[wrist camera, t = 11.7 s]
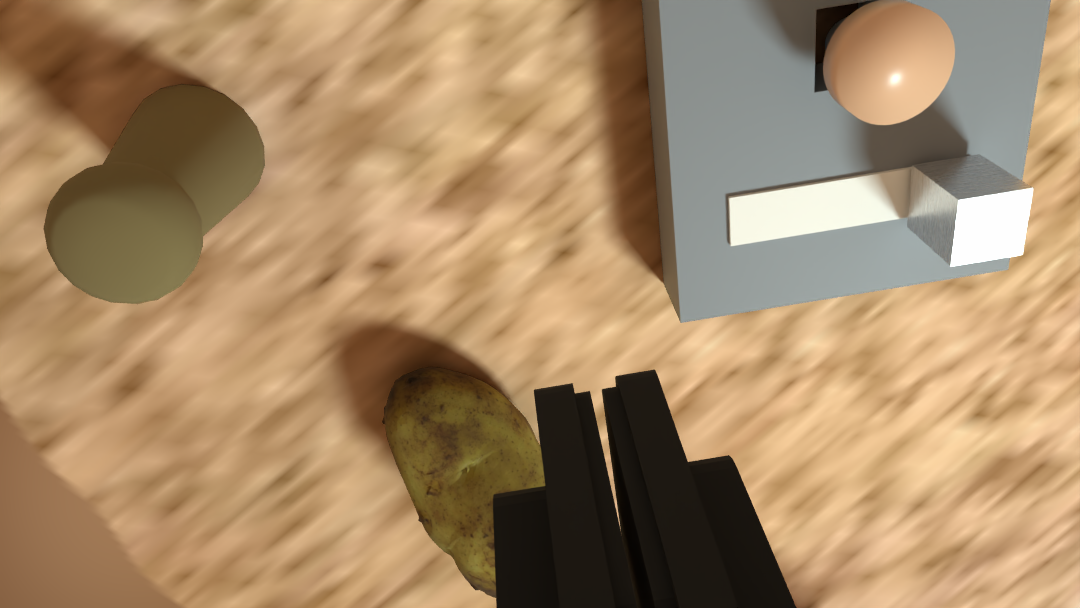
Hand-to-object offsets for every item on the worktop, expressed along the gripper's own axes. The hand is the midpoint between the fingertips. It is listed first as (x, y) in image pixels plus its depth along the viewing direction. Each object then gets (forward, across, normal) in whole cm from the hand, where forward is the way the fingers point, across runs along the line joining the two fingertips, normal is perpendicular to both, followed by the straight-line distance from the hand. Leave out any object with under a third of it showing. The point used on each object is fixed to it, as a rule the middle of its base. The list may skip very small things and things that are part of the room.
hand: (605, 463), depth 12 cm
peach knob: (+26, -14, +2) cm, 29 cm away
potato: (+29, +5, +22) cm, 37 cm away
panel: (+29, -14, +3) cm, 32 cm away
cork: (+29, +15, +3) cm, 33 cm away
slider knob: (+25, -18, +9) cm, 32 cm away
